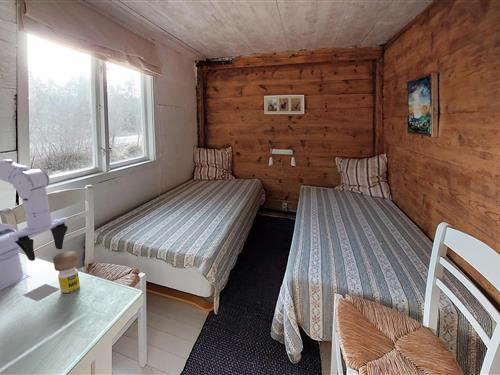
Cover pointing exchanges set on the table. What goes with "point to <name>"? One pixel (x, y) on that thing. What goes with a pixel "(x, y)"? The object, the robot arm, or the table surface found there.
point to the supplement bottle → (69, 281)
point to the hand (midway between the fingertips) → (46, 254)
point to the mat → (41, 292)
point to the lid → (65, 261)
